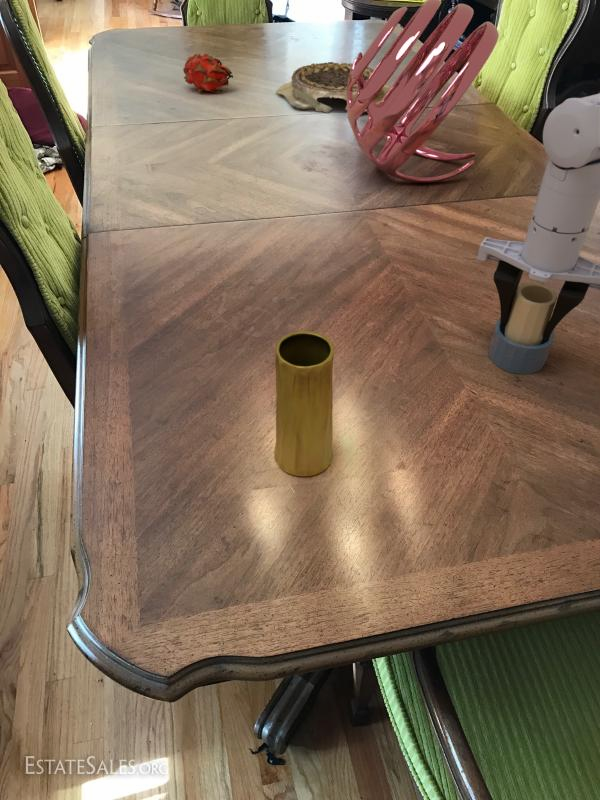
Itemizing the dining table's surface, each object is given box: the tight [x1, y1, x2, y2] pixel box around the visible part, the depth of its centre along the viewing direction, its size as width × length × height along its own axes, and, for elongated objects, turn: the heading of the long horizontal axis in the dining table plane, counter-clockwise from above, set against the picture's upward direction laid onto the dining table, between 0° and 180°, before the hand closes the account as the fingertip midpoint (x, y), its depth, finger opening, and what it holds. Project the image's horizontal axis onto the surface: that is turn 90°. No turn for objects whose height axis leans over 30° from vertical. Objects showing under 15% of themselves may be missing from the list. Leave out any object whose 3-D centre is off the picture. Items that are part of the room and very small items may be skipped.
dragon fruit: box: [182, 53, 234, 94], centre depth 143 cm, size 8×8×12 cm
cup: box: [504, 282, 558, 346], centre depth 71 cm, size 4×4×6 cm
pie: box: [275, 61, 392, 114], centre depth 142 cm, size 28×27×5 cm
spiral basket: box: [346, 0, 500, 184], centre depth 106 cm, size 28×28×27 cm
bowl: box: [487, 317, 556, 375], centre depth 74 cm, size 7×7×4 cm
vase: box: [273, 330, 335, 477], centre depth 59 cm, size 6×6×14 cm
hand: (526, 326), depth 72 cm, fingers closed on cup, 4 cm apart
